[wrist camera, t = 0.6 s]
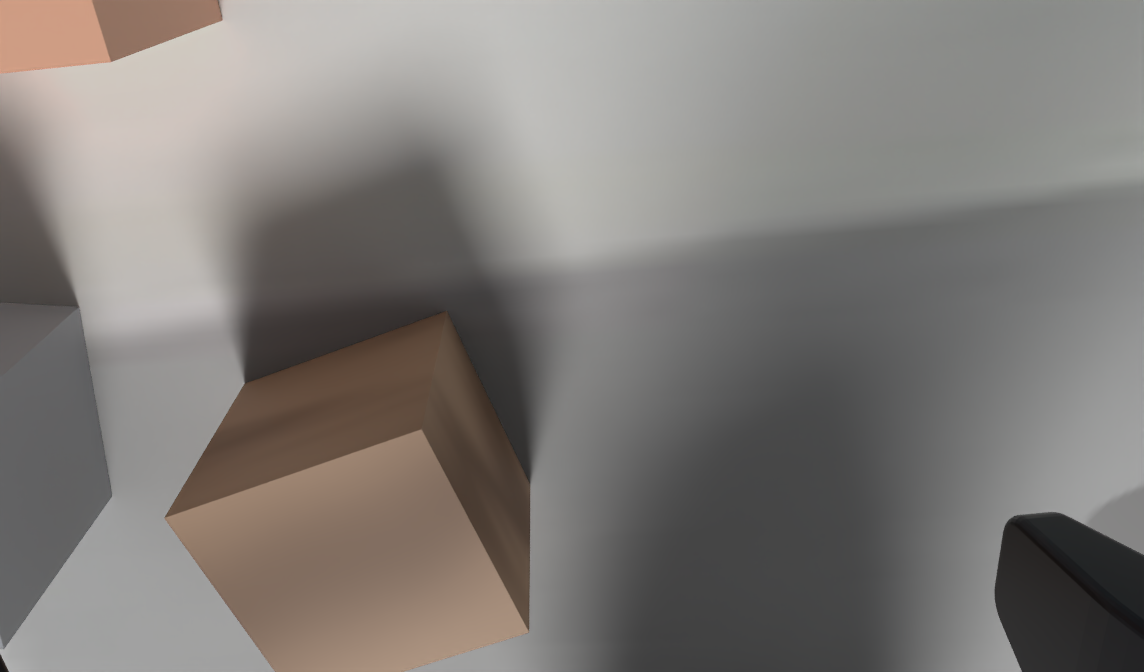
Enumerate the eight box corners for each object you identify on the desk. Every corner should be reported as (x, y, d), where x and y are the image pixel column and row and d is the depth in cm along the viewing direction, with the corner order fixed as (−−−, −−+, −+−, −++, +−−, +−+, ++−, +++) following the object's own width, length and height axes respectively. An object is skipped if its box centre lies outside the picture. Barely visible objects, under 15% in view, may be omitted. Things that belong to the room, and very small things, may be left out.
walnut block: (530, 482, 22) (528, 632, 17) (345, 543, 23) (298, 703, 18) (446, 309, 20) (421, 429, 15) (246, 382, 20) (164, 518, 16)
